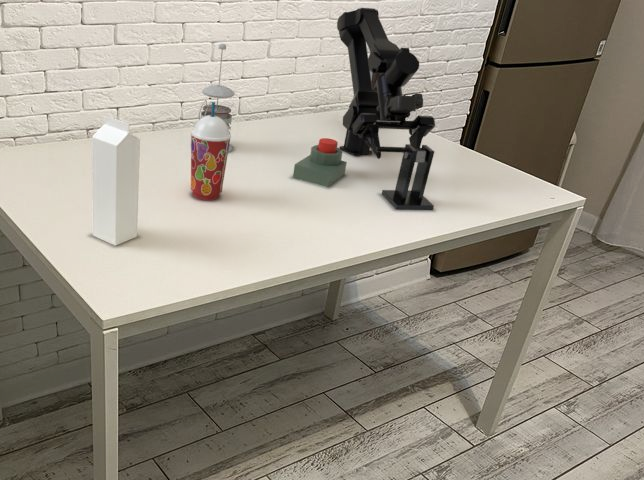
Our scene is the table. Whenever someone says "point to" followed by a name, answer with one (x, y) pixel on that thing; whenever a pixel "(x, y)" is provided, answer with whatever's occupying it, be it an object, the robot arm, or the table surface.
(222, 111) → the french press
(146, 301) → the table surface
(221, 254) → the table surface
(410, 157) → the black stand
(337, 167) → the control block
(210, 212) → the table surface
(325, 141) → the button
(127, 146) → the milk
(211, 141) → the smoothie
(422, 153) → the lever
